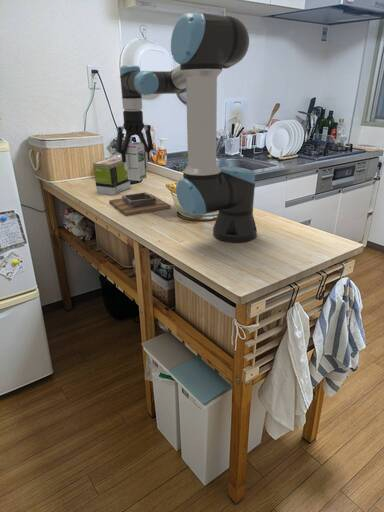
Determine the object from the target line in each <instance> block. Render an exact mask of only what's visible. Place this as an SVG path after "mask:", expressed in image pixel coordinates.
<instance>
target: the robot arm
mask: <svg viewBox="0 0 384 512" xmlns="http://www.w3.org/2000/svg"><path fill="white" fill-rule="evenodd" d="M170 38H171V40H170V51H171V55H172V59H173V60H174V62H175V63H177V64H179V65H178V66H175V68H174V69H172V70H169V71H166V70H165V71H163V70H161V71H158V70H157V71H155V70H152V71H151V70H150V71H149V70H141V67H140V66H139V65H121V66H120V68H119V72H120V74H119V78H120V89H121V100H122V109H123V112H122V114H123V124H122V125H120V126H116V132H117V134H116V136H117V137H116V152H117V153H119V154H120V156H121V158H122V162H124V166H125V170H126V171H129V165H128V154H126V151H127V148H128V144H129V143H130V140H131V138H132V136H137V137H138V139H139V141H140V143H143V144H144V149H145V163H146V170H147V169H149V162H148V160H150V153H151V152H152V151H153V150H154V145H153V144H154V143H153V139H152V133H151V129H152V128H151V127H152V126H151V125H150V124H145V123H144V114H143V111H142V110H143V99H142V98H143V97H142V96H150V95H164V94H165V95H166V94H167V95H169V94H170V95H171V94H172V95H173V94H176V95H180V94H186V97H185V98H186V128H187V129H186V130H187V133H186V134H187V138H186V139H187V140H186V141H187V166H186V167H185V168H184V169H183V171H182V176H183V177H182V178H180V179H179V180H178V181H177V183H176V187H175V191H176V193H175V194H176V197H177V200H178V203H179V205H180V206H181V209H182V210H183V211H184V213H186V214H188V215H190V216H198V215H203V216H204V215H205V214H210V213H213V212H214V213H215V212H218V214H217V216H216V219H215V222H214V226H213V228H212V235H213V237H215V238H216V239H217V240H220V241H222V242H227V243H246V242H249V241H252V240H254V239H256V237H257V225H256V221H255V218H254V214H253V212H254V200H255V189H256V188H255V186H256V182H255V181H256V175H255V173H254V171H253V170H252V169H248V168H244V167H238V166H229V165H228V166H221V167H219V166H218V165H217V119H218V118H217V116H218V115H217V112H218V111H217V110H218V109H217V107H218V105H217V104H218V103H217V102H218V101H217V100H218V99H217V98H218V95H217V94H218V92H217V91H218V89H217V88H218V77H219V76H220V74H221V73H222V72H223V70H224V69H230V68H231V67H233V66H235V65H236V64H238V63H240V62H241V61H242V60H243V59H244V57H245V56H246V55H247V52H248V50H249V46H250V35H249V31H248V29H247V27H246V25H245V24H244V22H242V21H241V20H239V18H236V17H234V16H232V15H231V16H230V15H221V14H213V13H205V12H187V13H184V14H182V15H181V16H180V17H179V18H178V19H177V21H176V23H175V25H174V27H173V30H172V33H171V37H170ZM124 130H125V137H124V141H123V135H124V134H123V132H124ZM143 130H144V131H145V136H144V133H143ZM145 137H146V139H145Z"/></svg>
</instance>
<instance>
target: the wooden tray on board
mask: <svg viewBox="0 0 384 512" xmlns="http://www.w3.org/2000/svg"><path fill="white" fill-rule="evenodd" d="M108 202H109V205H111V206H112V207H113V208H114V209H115V210H116V211H118V212H119V213H121V214H122V215H123V216H125V217H130V216H134V215H135V216H136V215H141V214H145V213H146V214H147V213H151V212H152V213H153V212H157V211H165V210H170V209H171V204H169V203H168V202H166V201H164V200H162V199H160V198H159V197H157V196H155V195H153V194H152V193H147V192H146V191H145V192H138V193H132V194H131V193H130V194H125V195H121V198H115V199H109V200H108Z"/></svg>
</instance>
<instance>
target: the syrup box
mask: <svg viewBox="0 0 384 512" xmlns="http://www.w3.org/2000/svg"><path fill="white" fill-rule="evenodd" d="M126 154H128V165H129V171H127V173H128V179H129V180H130V181H138V182H140V181H142V180H144V179H147V169H146V163H145V149H144V144H143V143H141V141H140V142H138V141H137V142H129V144H128V148H127V151H126Z"/></svg>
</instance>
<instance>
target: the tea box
mask: <svg viewBox="0 0 384 512" xmlns="http://www.w3.org/2000/svg"><path fill="white" fill-rule="evenodd" d="M92 165H93V173H94V180H95V188H96V193H97V194H101V195H102V194H103V195H107V196H108V195H111V196H114V195H116V194H118V193H121V192H123V191H125V190H128V189H130V188H131V187H132V186H131V180H129V179H128V173H127V171H126V170H125V166H124V162H122V157H121V158H120V157H109V158H106V159H102V160H100V161H97V162H92Z"/></svg>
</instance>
